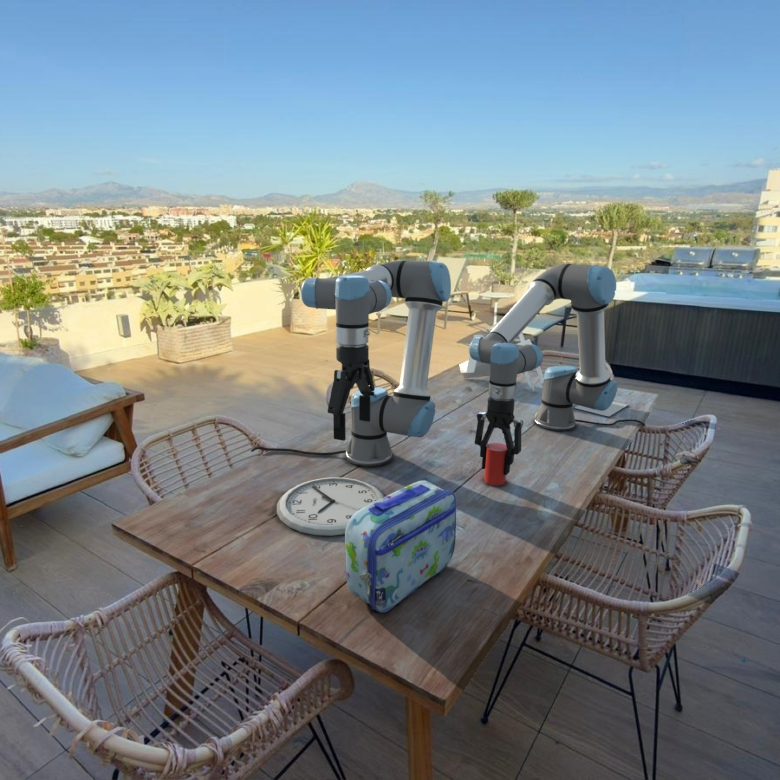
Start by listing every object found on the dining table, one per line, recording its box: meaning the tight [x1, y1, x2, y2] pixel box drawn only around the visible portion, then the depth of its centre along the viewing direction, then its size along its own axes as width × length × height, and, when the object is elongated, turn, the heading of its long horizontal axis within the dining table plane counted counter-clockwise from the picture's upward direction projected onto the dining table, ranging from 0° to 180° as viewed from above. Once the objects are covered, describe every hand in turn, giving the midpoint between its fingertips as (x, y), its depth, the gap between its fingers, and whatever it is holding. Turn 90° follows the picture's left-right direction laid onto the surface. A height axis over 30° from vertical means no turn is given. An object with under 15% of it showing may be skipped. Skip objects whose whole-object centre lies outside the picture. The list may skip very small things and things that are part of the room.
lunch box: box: [344, 480, 457, 614], centre depth 109 cm, size 26×11×21 cm, turn 135°
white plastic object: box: [458, 307, 544, 393], centre depth 256 cm, size 37×45×31 cm
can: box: [483, 442, 508, 487], centre depth 156 cm, size 6×6×11 cm
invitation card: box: [573, 400, 629, 418], centre depth 226 cm, size 21×1×15 cm
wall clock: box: [276, 476, 386, 537], centre depth 142 cm, size 30×2×30 cm
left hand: (352, 429), depth 127 cm, fingers open, 13 cm apart
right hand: (495, 470), depth 157 cm, fingers closed on can, 6 cm apart
